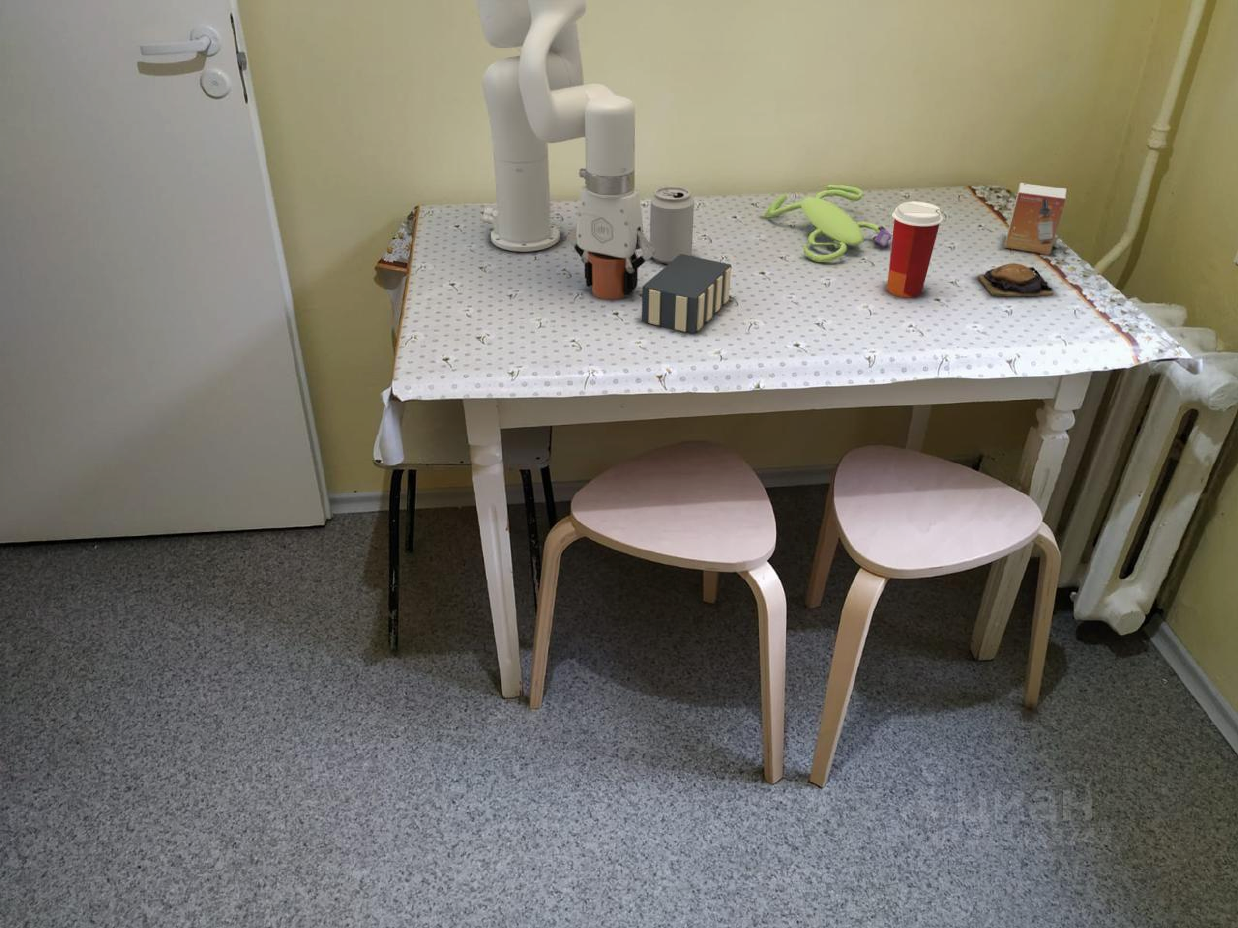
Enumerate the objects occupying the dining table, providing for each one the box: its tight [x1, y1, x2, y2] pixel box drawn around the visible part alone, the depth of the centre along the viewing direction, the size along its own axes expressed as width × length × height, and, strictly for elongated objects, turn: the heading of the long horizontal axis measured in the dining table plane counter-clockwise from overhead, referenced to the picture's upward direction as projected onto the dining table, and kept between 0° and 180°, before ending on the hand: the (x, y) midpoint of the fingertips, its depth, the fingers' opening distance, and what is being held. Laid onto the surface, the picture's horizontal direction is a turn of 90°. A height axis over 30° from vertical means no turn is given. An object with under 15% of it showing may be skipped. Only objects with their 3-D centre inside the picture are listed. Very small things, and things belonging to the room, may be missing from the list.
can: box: [649, 185, 695, 265], centre depth 172 cm, size 8×8×12 cm
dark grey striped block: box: [641, 254, 732, 335], centre depth 157 cm, size 9×14×6 cm, turn 152°
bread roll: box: [977, 262, 1054, 298], centre depth 165 cm, size 11×8×4 cm
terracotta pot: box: [588, 251, 633, 300], centre depth 162 cm, size 7×7×7 cm
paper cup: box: [886, 201, 944, 298], centre depth 160 cm, size 8×8×14 cm
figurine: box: [764, 184, 893, 263], centre depth 183 cm, size 18×27×6 cm
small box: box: [1004, 182, 1068, 256], centre depth 177 cm, size 8×6×10 cm
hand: (610, 286), depth 164 cm, fingers closed on terracotta pot, 6 cm apart
